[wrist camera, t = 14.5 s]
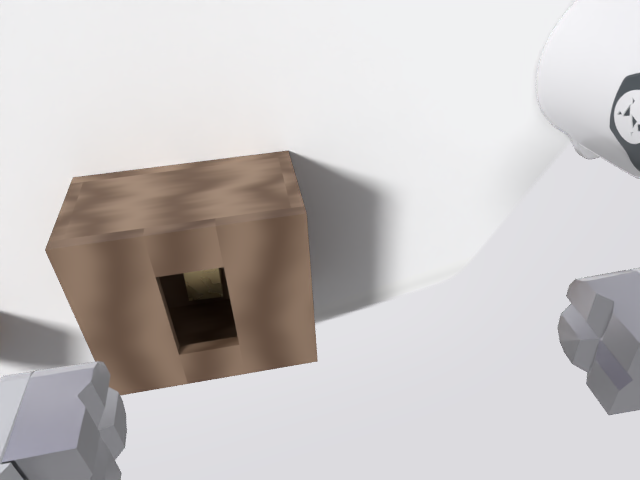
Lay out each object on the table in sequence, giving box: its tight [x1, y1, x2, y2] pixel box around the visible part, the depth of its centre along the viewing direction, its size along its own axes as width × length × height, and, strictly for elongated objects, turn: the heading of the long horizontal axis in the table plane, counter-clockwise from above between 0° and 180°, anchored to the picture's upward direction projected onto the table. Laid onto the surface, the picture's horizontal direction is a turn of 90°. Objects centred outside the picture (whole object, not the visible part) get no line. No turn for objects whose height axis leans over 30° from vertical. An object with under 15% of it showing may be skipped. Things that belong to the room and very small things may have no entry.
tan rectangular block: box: [183, 268, 223, 301], centre depth 47 cm, size 3×6×4 cm, turn 1°
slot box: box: [45, 151, 317, 395], centre depth 46 cm, size 18×16×10 cm
